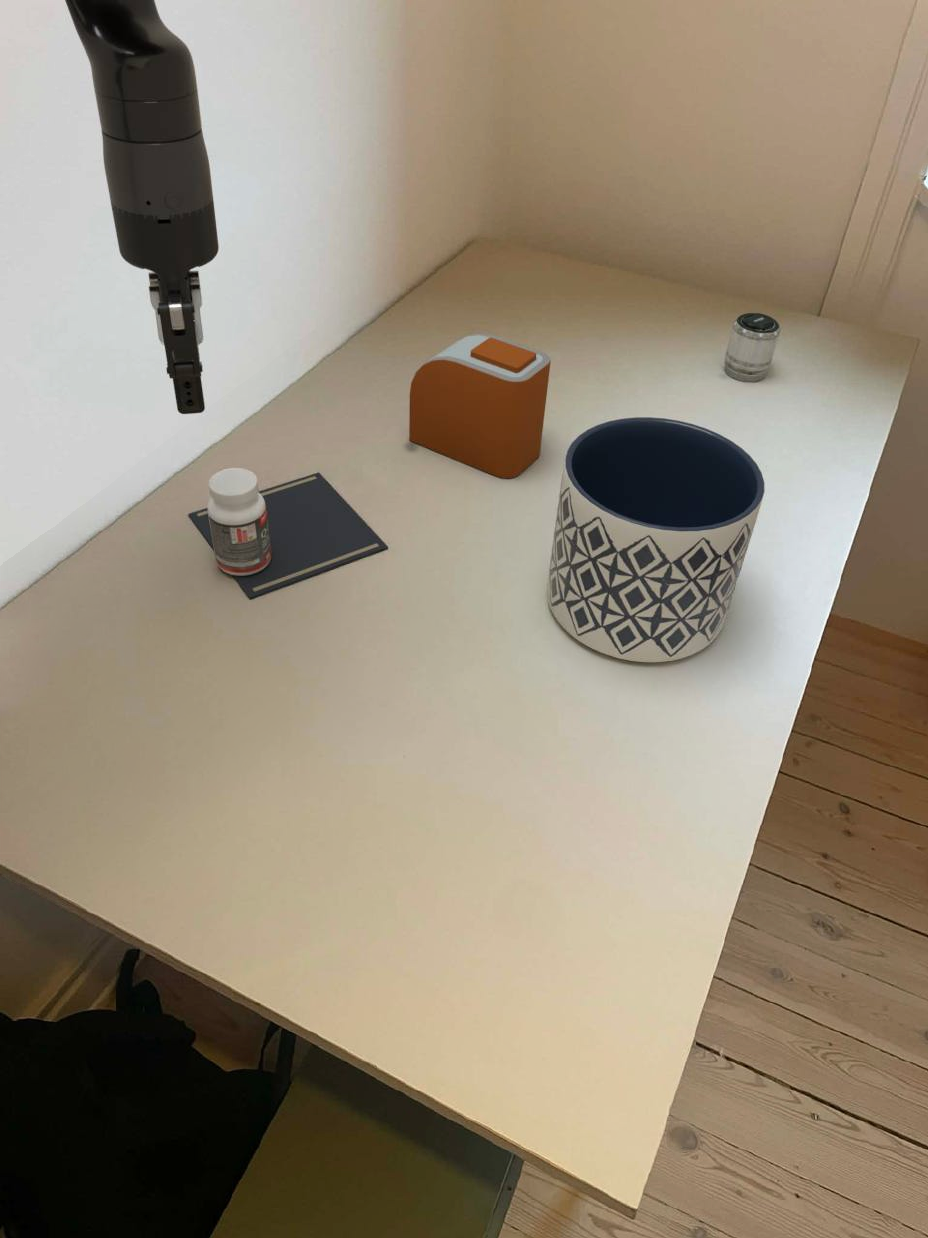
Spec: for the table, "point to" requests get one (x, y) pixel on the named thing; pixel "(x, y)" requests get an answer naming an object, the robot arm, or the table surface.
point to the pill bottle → (238, 522)
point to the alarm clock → (482, 404)
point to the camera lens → (751, 346)
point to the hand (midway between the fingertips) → (189, 386)
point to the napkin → (304, 534)
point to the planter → (651, 536)
